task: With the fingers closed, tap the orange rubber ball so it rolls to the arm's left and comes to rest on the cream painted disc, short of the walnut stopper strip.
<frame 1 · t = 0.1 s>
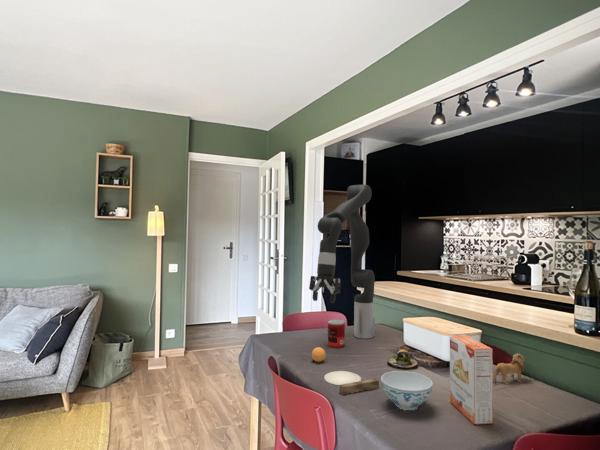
hand: (323, 301, 163), 22 cm above the table, tool pointing down, fingers open, 8 cm apart
canned food: (336, 346, 176), on the table
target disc: (342, 378, 137), on the table
lion figurine: (508, 381, 135), on the table
cracker box: (469, 413, 111), on the table
ball: (318, 354, 154), on the table
stopper strip: (359, 390, 127), on the table
chinaware: (406, 406, 116), on the table
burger: (402, 366, 151), on the table
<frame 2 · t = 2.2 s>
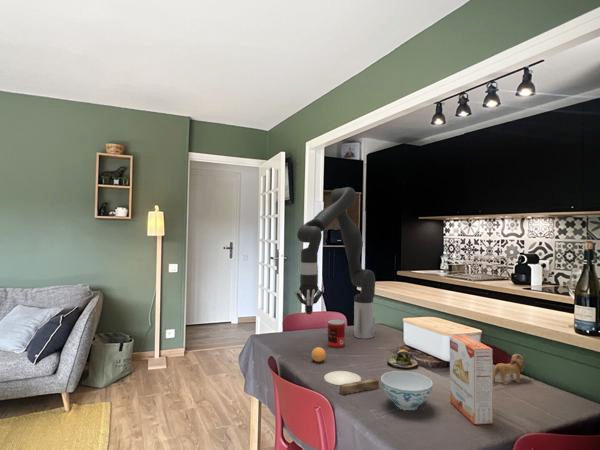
hand: (308, 313, 163), 17 cm above the table, tool pointing down, fingers closed
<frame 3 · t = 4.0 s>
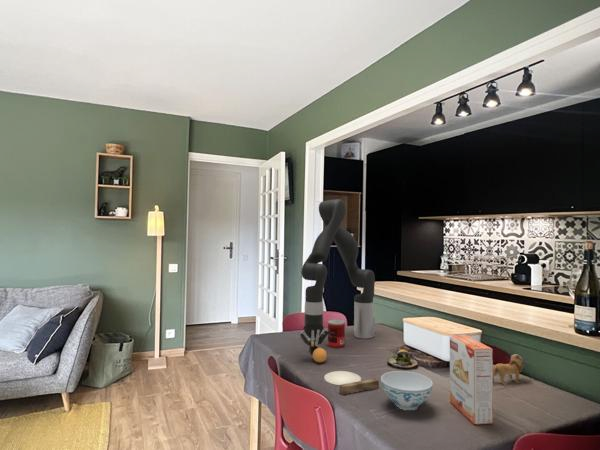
hand: (313, 354, 156), 2 cm above the table, tool pointing down, fingers closed
ball: (319, 355, 153), on the table, touching gripper
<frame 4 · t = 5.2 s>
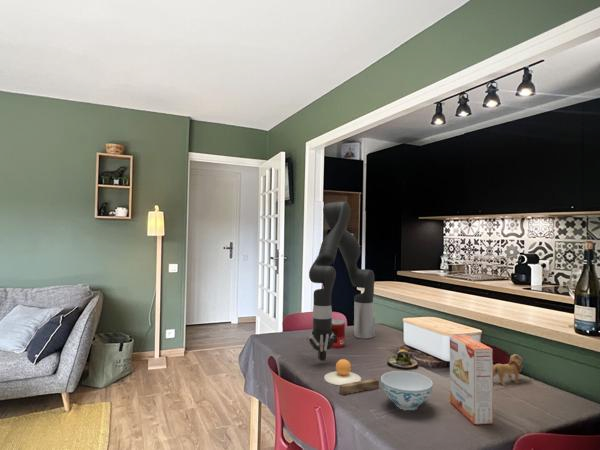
hand: (322, 360, 151), 2 cm above the table, tool pointing down, fingers closed
ball: (343, 367, 140), on the table
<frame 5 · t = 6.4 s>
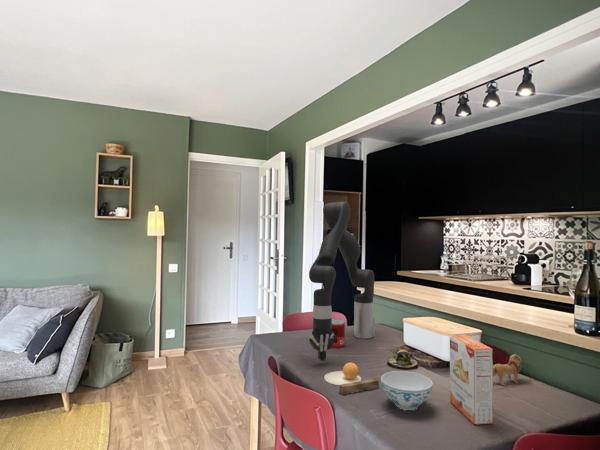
hand: (322, 360, 151), 2 cm above the table, tool pointing down, fingers closed
ball: (350, 370, 136), on the table
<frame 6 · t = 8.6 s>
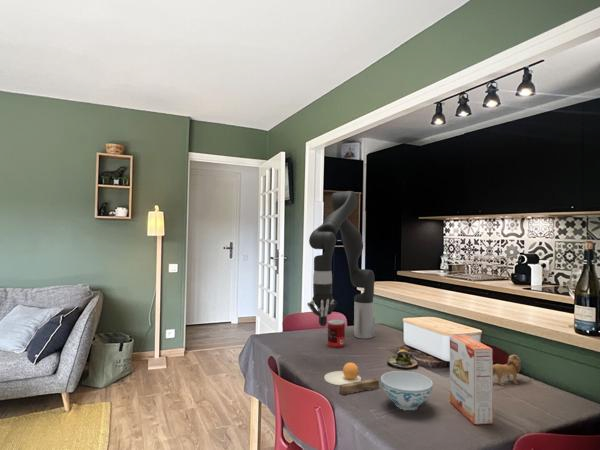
hand: (322, 325, 152), 15 cm above the table, tool pointing down, fingers closed
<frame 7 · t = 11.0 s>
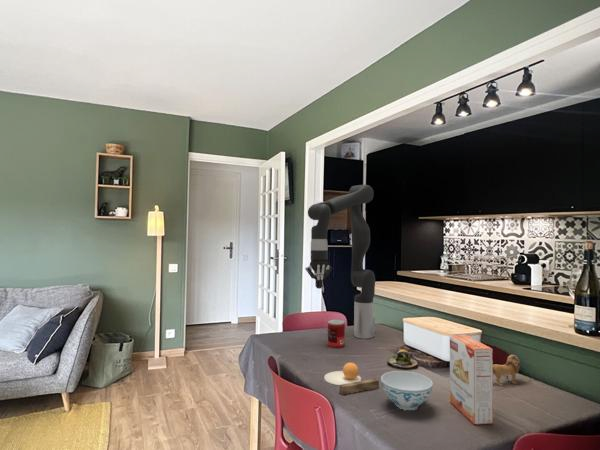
hand: (318, 288, 170), 27 cm above the table, tool pointing down, fingers closed
at the end: ball 2.9 cm from the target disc (horizontally); ball at rest at the end (0.0 cm/s); ball moved 20.6 cm from its start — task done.
